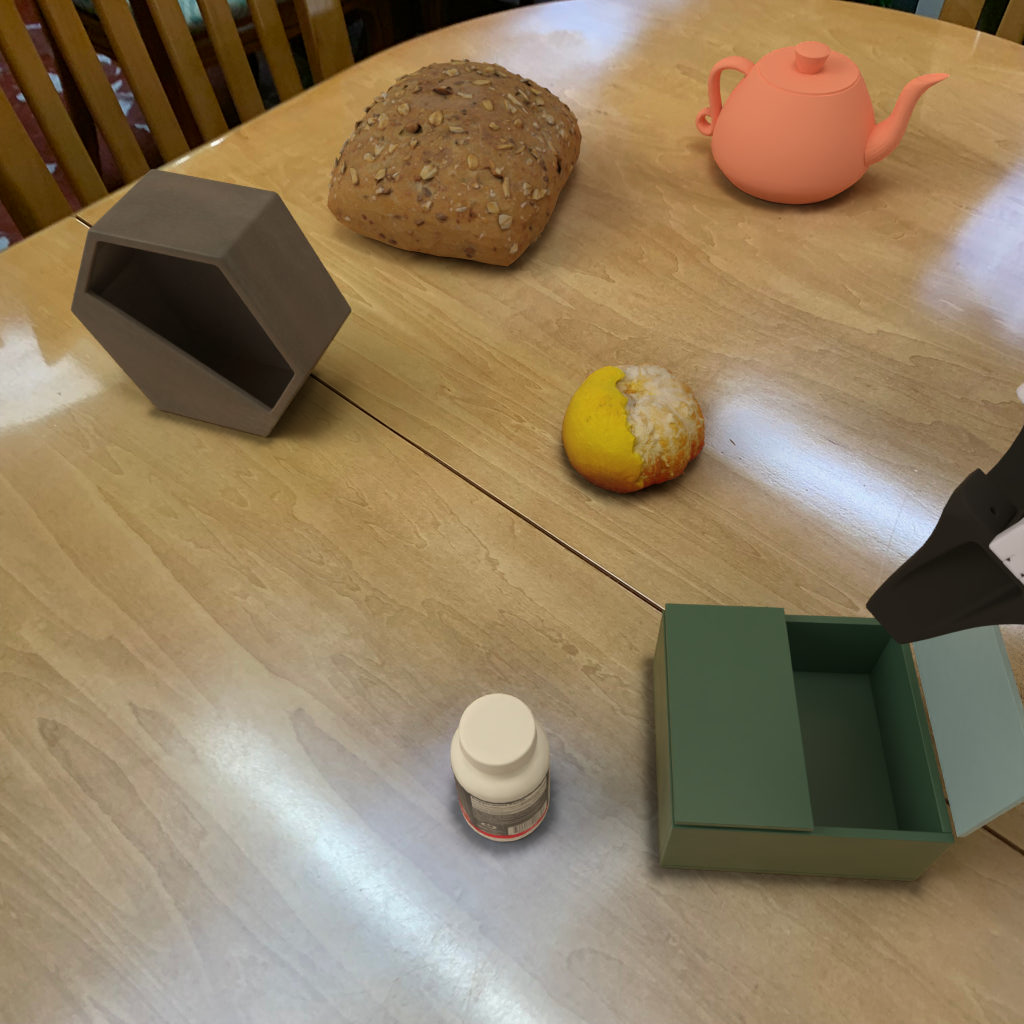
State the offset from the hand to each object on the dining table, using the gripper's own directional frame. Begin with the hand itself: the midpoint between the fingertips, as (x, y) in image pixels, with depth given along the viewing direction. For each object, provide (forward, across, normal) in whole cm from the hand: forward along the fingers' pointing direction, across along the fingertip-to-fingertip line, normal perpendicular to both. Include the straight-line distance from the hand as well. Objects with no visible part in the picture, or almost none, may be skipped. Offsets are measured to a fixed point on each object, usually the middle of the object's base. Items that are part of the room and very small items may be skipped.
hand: (921, 579), depth 39 cm
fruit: (+23, -18, -17) cm, 34 cm away
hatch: (+6, -6, +7) cm, 11 cm away
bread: (+31, -33, -49) cm, 67 cm away
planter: (+38, -3, -41) cm, 56 cm away
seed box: (+19, -5, +5) cm, 20 cm away
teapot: (+16, -57, -31) cm, 67 cm away
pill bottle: (+26, +7, -3) cm, 28 cm away
